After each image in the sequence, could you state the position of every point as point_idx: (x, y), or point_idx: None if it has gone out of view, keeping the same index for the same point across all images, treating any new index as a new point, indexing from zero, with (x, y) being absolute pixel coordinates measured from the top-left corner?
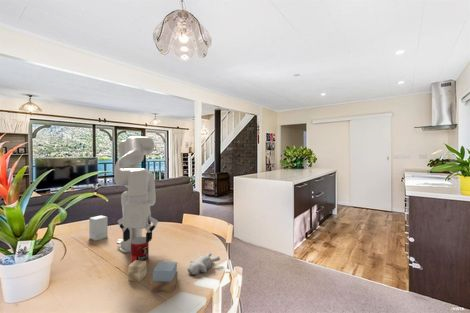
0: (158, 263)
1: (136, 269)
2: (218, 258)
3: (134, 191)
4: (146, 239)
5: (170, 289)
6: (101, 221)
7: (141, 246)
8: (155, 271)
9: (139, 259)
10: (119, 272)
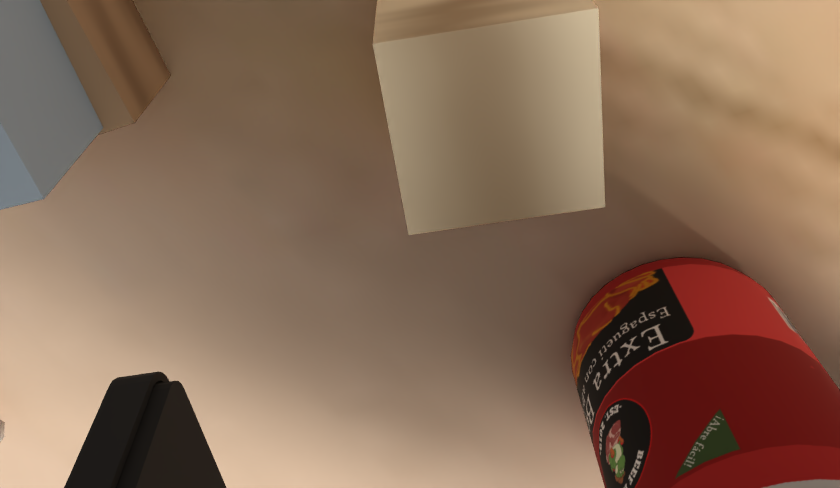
0: (5, 137)
1: (436, 17)
2: None
3: None
4: (119, 439)
5: None
6: None
7: (677, 478)
8: None
9: (643, 324)
10: (802, 86)
